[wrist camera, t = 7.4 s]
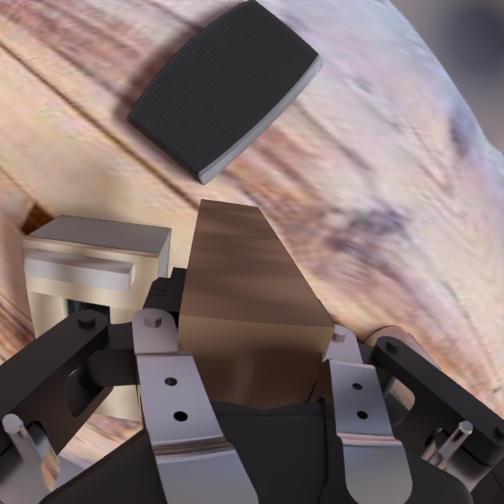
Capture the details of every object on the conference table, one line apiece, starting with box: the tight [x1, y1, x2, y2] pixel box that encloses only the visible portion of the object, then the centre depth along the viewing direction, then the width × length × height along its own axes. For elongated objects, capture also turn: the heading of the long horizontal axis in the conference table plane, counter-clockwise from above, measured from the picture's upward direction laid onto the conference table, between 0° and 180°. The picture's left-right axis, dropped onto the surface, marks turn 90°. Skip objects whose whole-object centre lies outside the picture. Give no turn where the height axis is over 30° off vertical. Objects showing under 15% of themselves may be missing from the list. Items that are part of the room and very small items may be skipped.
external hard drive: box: [127, 0, 323, 185], centre depth 28 cm, size 13×19×4 cm
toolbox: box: [28, 215, 171, 324], centre depth 33 cm, size 14×22×8 cm, turn 170°
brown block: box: [177, 199, 336, 410], centre depth 15 cm, size 4×4×15 cm
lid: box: [22, 236, 160, 422], centre depth 27 cm, size 14×22×3 cm, turn 170°
